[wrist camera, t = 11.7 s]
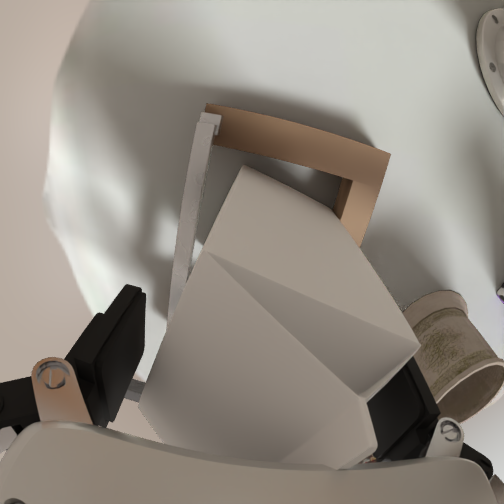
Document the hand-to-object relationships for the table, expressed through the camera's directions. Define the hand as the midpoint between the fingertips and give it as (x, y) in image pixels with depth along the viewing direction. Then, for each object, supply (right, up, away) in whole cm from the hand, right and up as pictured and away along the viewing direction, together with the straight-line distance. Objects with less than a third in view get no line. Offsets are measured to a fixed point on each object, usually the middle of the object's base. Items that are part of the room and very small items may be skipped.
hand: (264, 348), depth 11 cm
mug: (+16, -6, +16) cm, 23 cm away
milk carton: (+1, +5, +12) cm, 13 cm away
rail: (-5, +6, +12) cm, 14 cm away
